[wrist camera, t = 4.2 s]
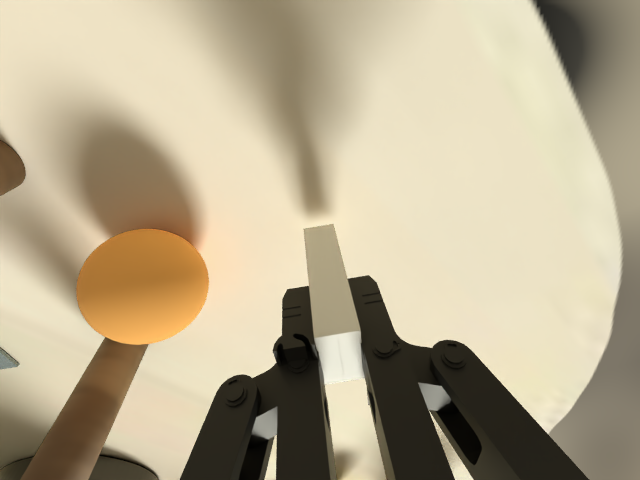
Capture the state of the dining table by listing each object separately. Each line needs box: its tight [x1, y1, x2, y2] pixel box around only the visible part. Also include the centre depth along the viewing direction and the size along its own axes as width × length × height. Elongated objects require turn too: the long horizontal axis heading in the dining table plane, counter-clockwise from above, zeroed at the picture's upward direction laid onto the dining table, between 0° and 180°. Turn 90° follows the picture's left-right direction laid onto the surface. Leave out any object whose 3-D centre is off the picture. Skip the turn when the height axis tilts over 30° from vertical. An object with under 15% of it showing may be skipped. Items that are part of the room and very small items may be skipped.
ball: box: [76, 229, 209, 345], centre depth 15 cm, size 6×6×6 cm
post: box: [20, 337, 148, 480], centre depth 17 cm, size 3×3×9 cm
